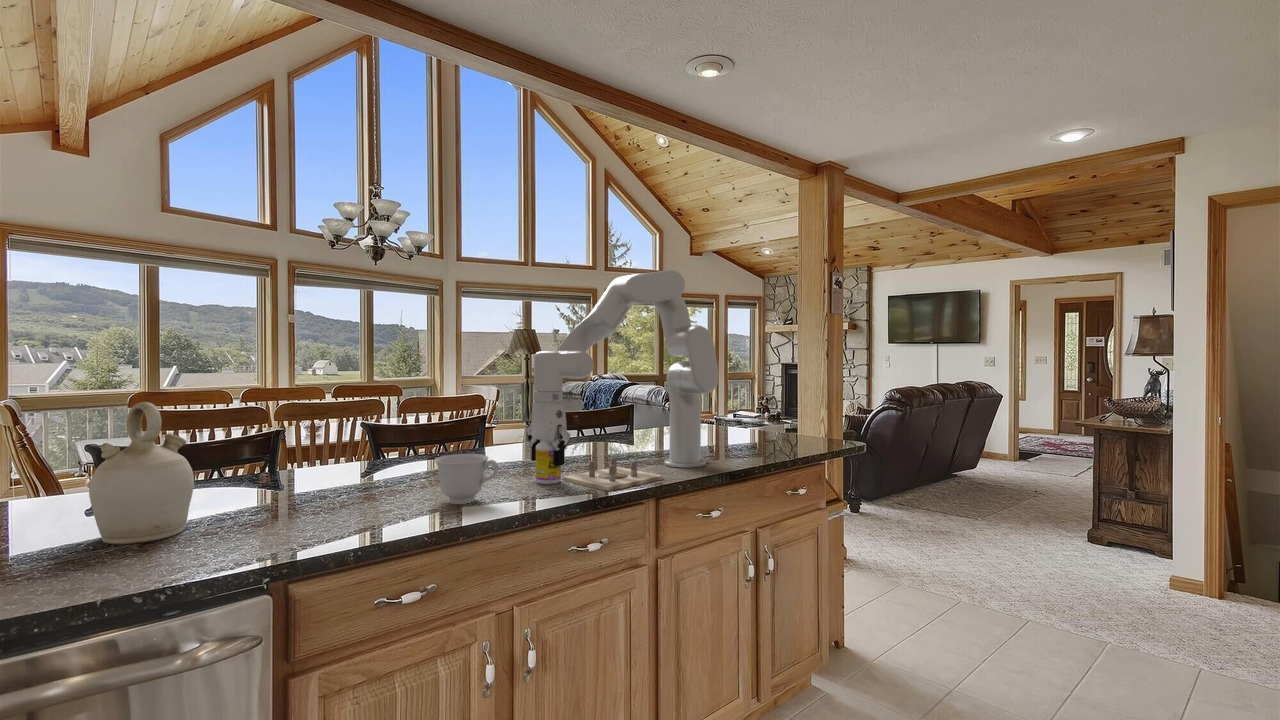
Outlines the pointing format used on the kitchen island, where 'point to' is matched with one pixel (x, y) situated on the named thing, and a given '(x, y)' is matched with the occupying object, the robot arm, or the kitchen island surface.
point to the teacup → (463, 475)
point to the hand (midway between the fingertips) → (547, 462)
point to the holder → (612, 477)
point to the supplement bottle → (546, 464)
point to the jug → (142, 484)
